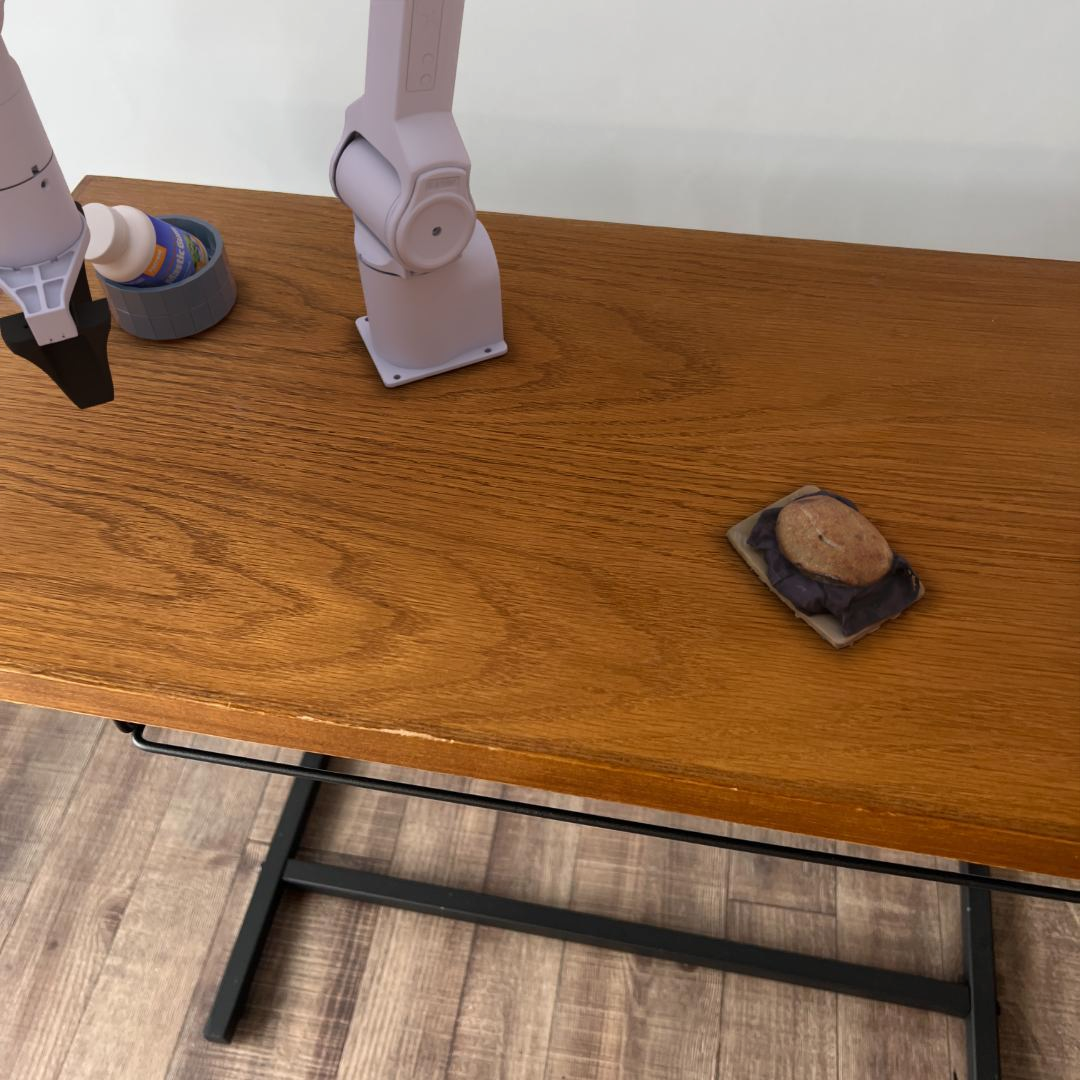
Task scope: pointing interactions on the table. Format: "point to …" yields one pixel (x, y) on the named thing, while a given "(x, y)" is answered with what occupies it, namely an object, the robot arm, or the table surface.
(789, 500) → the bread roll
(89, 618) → the table surface
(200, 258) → the pill bottle
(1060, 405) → the table surface
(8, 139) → the robot arm
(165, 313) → the bowl
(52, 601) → the table surface
